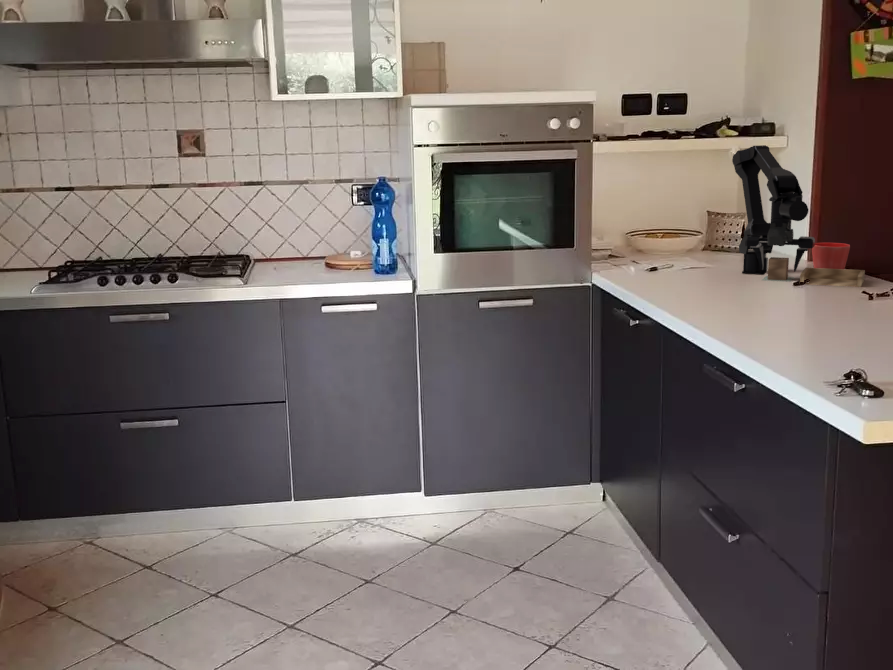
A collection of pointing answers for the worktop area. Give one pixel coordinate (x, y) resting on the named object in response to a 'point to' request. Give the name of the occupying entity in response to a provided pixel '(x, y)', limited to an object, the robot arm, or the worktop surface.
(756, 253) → the robot arm
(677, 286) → the worktop surface
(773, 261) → the block
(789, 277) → the mat
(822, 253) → the flower pot
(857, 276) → the crate
